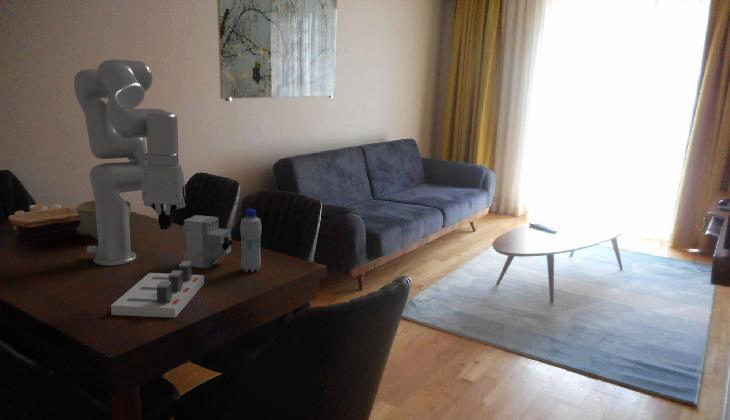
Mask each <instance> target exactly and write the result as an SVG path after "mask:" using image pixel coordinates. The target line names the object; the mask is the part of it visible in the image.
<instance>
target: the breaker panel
mask: <svg viewBox="0 0 730 420" xmlns="http://www.w3.org/2000/svg"><path fill="white" fill-rule="evenodd" d="M169 274H170V273H160V272H149V273H147V274H146V275H145V276H144V277H142V279H141V280H139V281H138V282H137V283H136V284H135V285H133V286H132V287H131V288H130V289H128V290H127V291H126V292H125V293H124V294H123V295H121V296H120V297H119V298H118V299H117V300H116V301H114V302H113V303H112V304H110V310H111V316H128V317H129V316H130V317H131V316H132V317H150V318H151V317H152V318H153V317H155V318H177V316H178V315H179V314H180V312H182V311H183V309H184V308H185V307H186V306H187V305H188V303H189V302H190V301H191V300H192V299H193V297H194V296H195V294H197V292H198V291H200V289H201V288H202V287H203V285H204V284H205V274H204V275H203V274H192V277H191V278H190V279H189V280H188V281H187V280H183V286H182V288H181V289H180V290H179V291H172V298H171V299H170V300H169V301H168V302H167V303H158V302H157V285H158V284H159V283H160V282H161V281H169Z"/></svg>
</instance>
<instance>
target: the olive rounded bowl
mask: <svg viewBox="0 0 730 420" xmlns="http://www.w3.org/2000/svg"><path fill="white" fill-rule="evenodd" d="M125 202H126V203H127V205H128V209H129V218H130V217H131V212H132V203H131V202H130V201H127V200H125ZM75 207H76V213H77V216H78V219H79V221H80V224H81V225H82V227H83V228H84V229H85V230H86V232H87V234H89V235H90V236H91V237H92V238H93V239H95V240H98V236H97V222H96V209H95V200H90V201H85V202H84V201H83V202H80V203H79V204H76V206H75Z"/></svg>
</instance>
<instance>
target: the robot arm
mask: <svg viewBox="0 0 730 420" xmlns="http://www.w3.org/2000/svg"><path fill="white" fill-rule="evenodd" d="M73 80H74V81H73V87H74V92H75V93H74V94H75V97H76V99H77V101H78V104H79V105H80V108H81V110H82V112H83V115H84V118H85V125H86V130H87V136H88V140H89V146H90V151H91V154H92V155H93V156H94V157H95V158H97V159H100V160H110V159H112V160H113V159H127V160H128V161H122V162H121V161H119V162H106V163H105V162H104V163H100V164H99V163H98V164H97V165H95V166H93V167H92V168H91V169H90V173H89V180H90V184H91V188H92V193H93V198H94V199H93V200H94V201H95V209H96V222H97V236H98V239H97V246H94V245H87V247H86V253H87V254H90V255H91V254H94V255H95V256H94V257H93V262H94V263H95V264H96V265H100V266H120V265H125V264H129V263H131V262H132V263H133V262H134V261H135V260H137V253H136V252H133V251H132V245H131V243H132V242H131V228H130V217H129V209H128V205H127V203H126V202H125V201H126V200H125V199H124V198H122V197H121V195H120V194H122V193H128V192H137V191H138V192H139V191H141V199H142V202H143V205H144V206H146V207H148V208H152V210H153V211H154V212H155V213H156V214H157V215H158V226H159V227H160V228H159V229H160V230H166V231H167V230H169V229H170V228H171V226H172V225H173V213H174V212H175V211H176V210H179V209H183V208H185V207H186V202H185V201H186V185H185V184H186V183H185V179H184V177H185V176H184V172H183V168H182V165H181V164H179V163H180V162H179V161H180V160H179V129H178V127H179V125H178V117H177V114H176V113H173V112H171V111H170V112H169V111H166V110H165V109H163V108H162V109H161V108H136V107H138V106H140V104H141V103H142V102H143V101H144V99H145V94H146V92H147V91H149V89H150V88H151V86H152V84H153V73H152V70H151V68H150V67H149V66H148V65H147V64H146V63H145V62H143V61H140V60H131V59H130V60H127V59H106V60H103V61H102V62H101V63H100V64H99V65H98V67H97V69H95V68H91V69H83V70H82V69H81V70H80V71H78V72H77V73H76V74H75V76H74V79H73ZM103 99H108V100H107V101H105V100H103ZM145 138H146V143H145Z"/></svg>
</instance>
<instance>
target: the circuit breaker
mask: <svg viewBox="0 0 730 420" xmlns="http://www.w3.org/2000/svg"><path fill="white" fill-rule="evenodd" d="M182 227H183V234H185V237H186V238H185V239H186V240H185V241H186V250H185V251H183V253H184V255H183V256H184V258H183V259H184V260H183V261H192V267H196V268H204V269H209V268H210V267H212V266H213V265H215V264H216V263H218V262H220V259H222V258H223V257H225V256H226V255H228V254H229V253H231V252H232V245H233V244H234V240H232V230H231V229H227V228H219V217H218V216H210V215H209V216H207V215H197V214H196V215H193V216H191V217H189V218H186V219H184V220H183V226H182Z"/></svg>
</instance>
